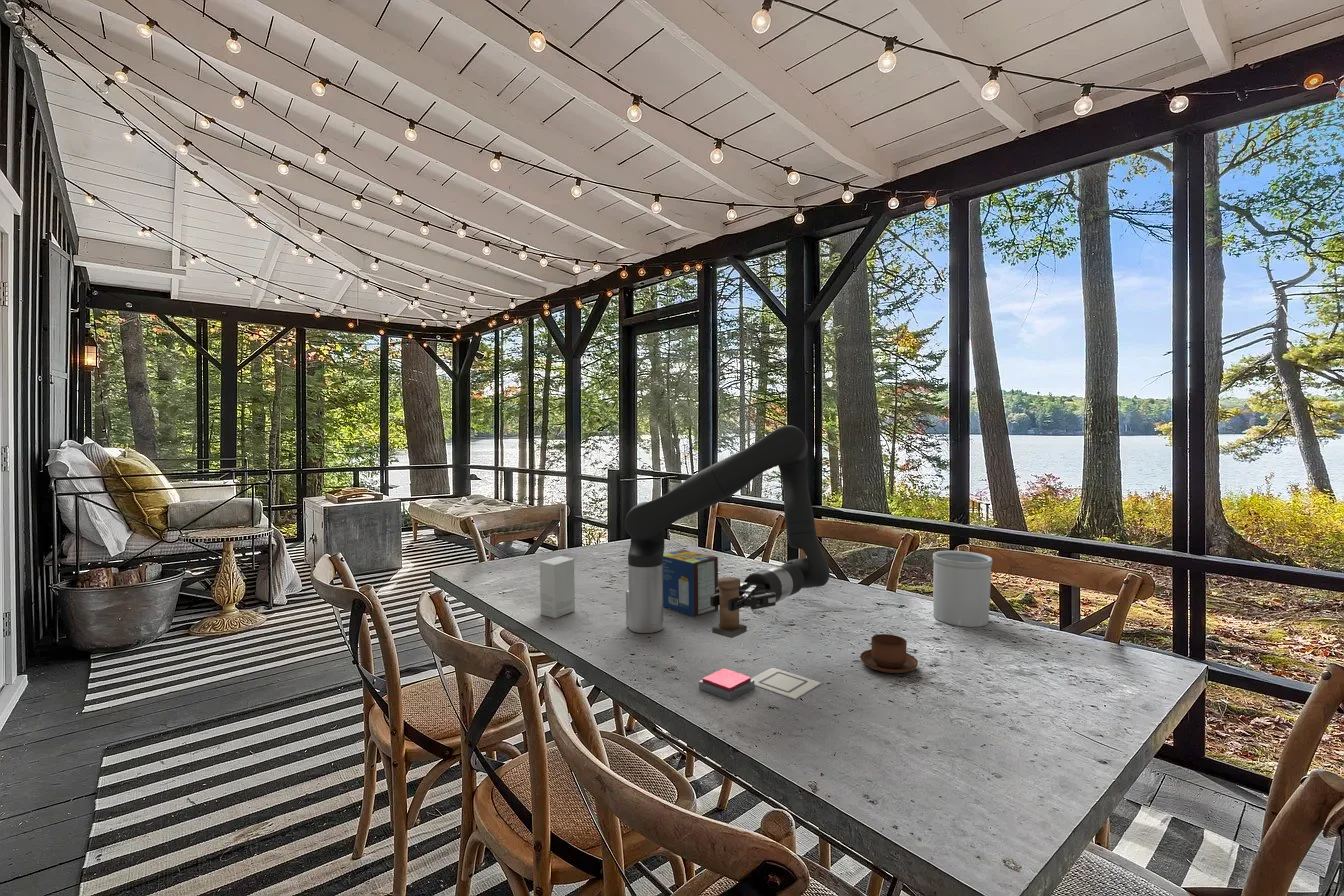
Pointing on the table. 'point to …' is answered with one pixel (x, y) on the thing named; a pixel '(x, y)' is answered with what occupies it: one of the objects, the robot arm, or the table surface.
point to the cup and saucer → (889, 655)
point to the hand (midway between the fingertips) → (720, 603)
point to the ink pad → (726, 684)
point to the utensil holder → (961, 588)
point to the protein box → (689, 582)
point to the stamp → (728, 618)
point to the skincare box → (557, 586)
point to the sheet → (784, 683)
